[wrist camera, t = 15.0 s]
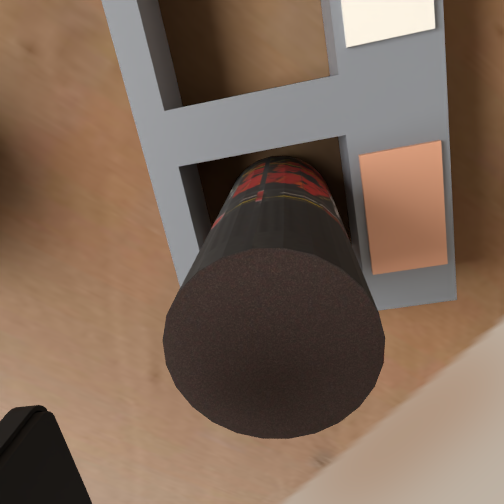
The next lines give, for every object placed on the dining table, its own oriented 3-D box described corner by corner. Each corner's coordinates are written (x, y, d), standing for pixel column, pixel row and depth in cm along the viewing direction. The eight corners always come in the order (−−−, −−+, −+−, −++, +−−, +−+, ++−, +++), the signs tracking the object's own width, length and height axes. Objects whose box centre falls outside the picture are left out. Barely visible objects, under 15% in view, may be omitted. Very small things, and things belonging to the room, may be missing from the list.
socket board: (404, -167, 20) (435, -231, 16) (433, 269, 27) (459, 302, 23) (106, -85, 22) (65, -123, 18) (205, 302, 29) (192, 338, 25)
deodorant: (352, 213, 26) (430, 368, 12) (273, 273, 28) (258, 470, 14) (287, 133, 25) (288, 198, 11) (208, 200, 26) (117, 335, 12)
